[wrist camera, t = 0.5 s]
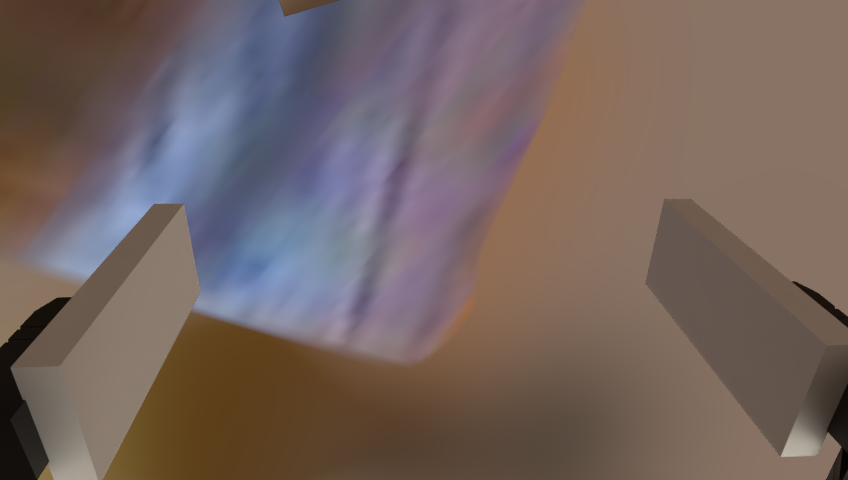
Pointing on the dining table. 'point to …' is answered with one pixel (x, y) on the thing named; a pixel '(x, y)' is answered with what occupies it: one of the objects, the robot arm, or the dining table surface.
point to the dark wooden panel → (301, 5)
